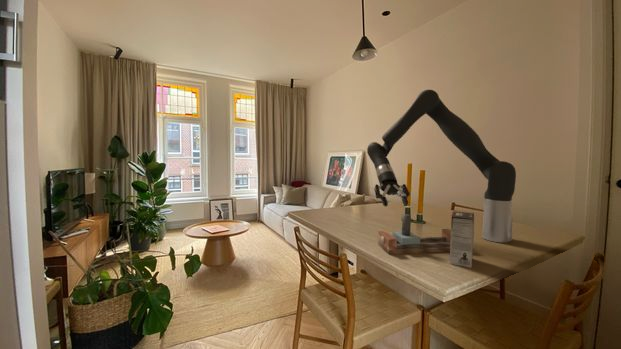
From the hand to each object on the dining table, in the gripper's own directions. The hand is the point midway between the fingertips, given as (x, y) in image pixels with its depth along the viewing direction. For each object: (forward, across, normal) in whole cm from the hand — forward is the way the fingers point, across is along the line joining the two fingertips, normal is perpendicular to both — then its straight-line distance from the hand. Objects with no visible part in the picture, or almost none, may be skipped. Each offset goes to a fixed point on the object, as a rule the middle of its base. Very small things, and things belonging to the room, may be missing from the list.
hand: (396, 205), depth 102 cm
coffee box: (+26, +13, -5) cm, 30 cm away
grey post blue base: (+15, 0, +2) cm, 15 cm away
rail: (+17, +6, +4) cm, 18 cm away
